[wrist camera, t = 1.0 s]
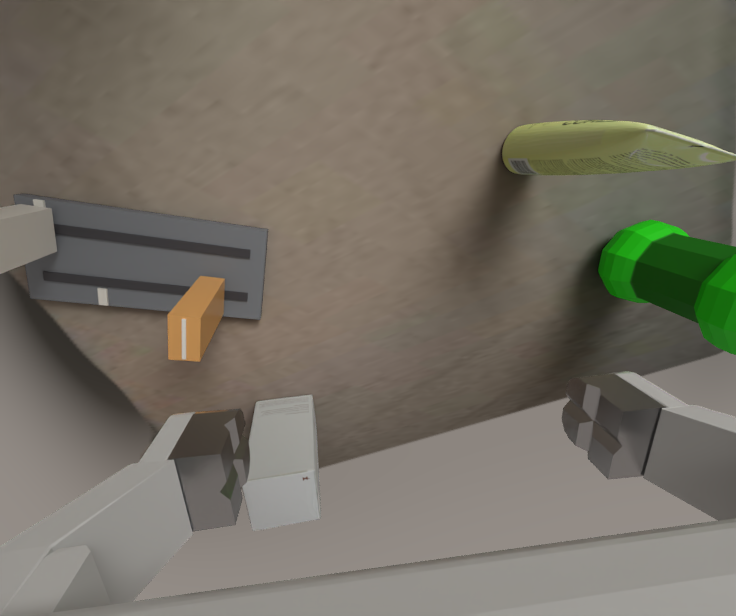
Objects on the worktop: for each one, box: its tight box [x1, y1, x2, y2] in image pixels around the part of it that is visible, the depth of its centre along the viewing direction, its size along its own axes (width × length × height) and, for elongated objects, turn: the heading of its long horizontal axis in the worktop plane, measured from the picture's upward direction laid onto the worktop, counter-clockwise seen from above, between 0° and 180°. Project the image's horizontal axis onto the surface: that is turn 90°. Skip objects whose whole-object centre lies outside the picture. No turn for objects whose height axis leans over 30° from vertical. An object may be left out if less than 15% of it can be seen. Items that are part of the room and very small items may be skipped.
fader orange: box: [168, 276, 225, 362], centre depth 34 cm, size 2×4×10 cm, turn 170°
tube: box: [502, 120, 736, 175], centre depth 31 cm, size 6×5×20 cm
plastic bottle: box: [598, 220, 736, 355], centre depth 35 cm, size 10×10×25 cm
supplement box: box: [242, 395, 321, 531], centre depth 43 cm, size 7×7×13 cm
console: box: [14, 194, 268, 320], centre depth 37 cm, size 22×10×1 cm, turn 80°
